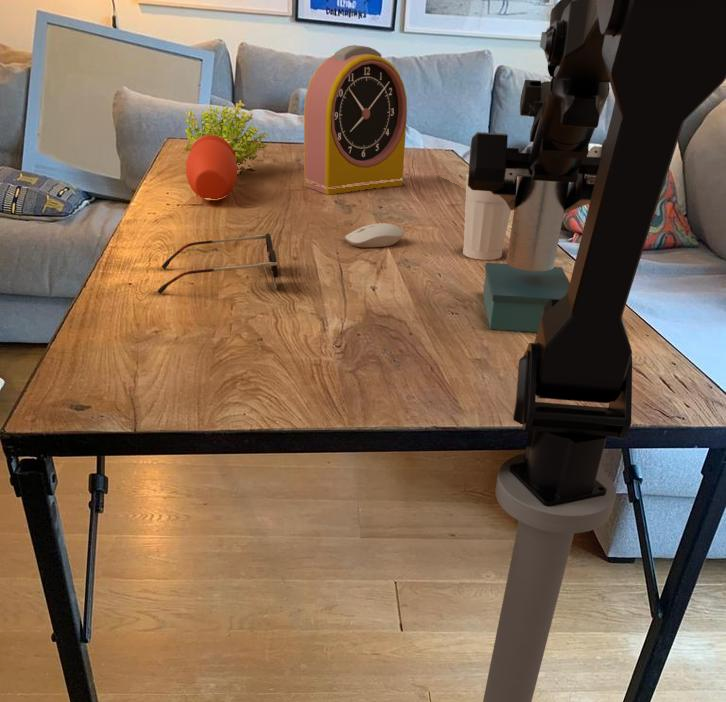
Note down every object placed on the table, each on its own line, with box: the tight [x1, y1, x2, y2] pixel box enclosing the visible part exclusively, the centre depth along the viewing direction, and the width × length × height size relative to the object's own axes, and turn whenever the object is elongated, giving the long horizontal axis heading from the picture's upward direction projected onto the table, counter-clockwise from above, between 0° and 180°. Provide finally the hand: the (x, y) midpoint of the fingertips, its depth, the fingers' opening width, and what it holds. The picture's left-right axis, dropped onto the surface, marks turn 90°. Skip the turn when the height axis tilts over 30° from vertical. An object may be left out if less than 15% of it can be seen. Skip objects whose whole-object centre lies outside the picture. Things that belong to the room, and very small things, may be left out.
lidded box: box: [482, 262, 570, 333], centre depth 95 cm, size 13×11×4 cm
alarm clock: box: [303, 44, 408, 195], centre depth 152 cm, size 21×9×26 cm, turn 128°
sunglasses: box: [157, 233, 279, 294], centre depth 102 cm, size 14×16×5 cm
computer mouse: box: [344, 222, 405, 248], centre depth 121 cm, size 6×10×3 cm, turn 112°
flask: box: [505, 145, 570, 272], centre depth 89 cm, size 6×6×14 cm
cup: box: [462, 172, 519, 261], centre depth 116 cm, size 8×8×12 cm
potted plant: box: [183, 99, 269, 202], centre depth 154 cm, size 19×14×45 cm
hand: (537, 208), depth 90 cm, fingers closed on flask, 6 cm apart
